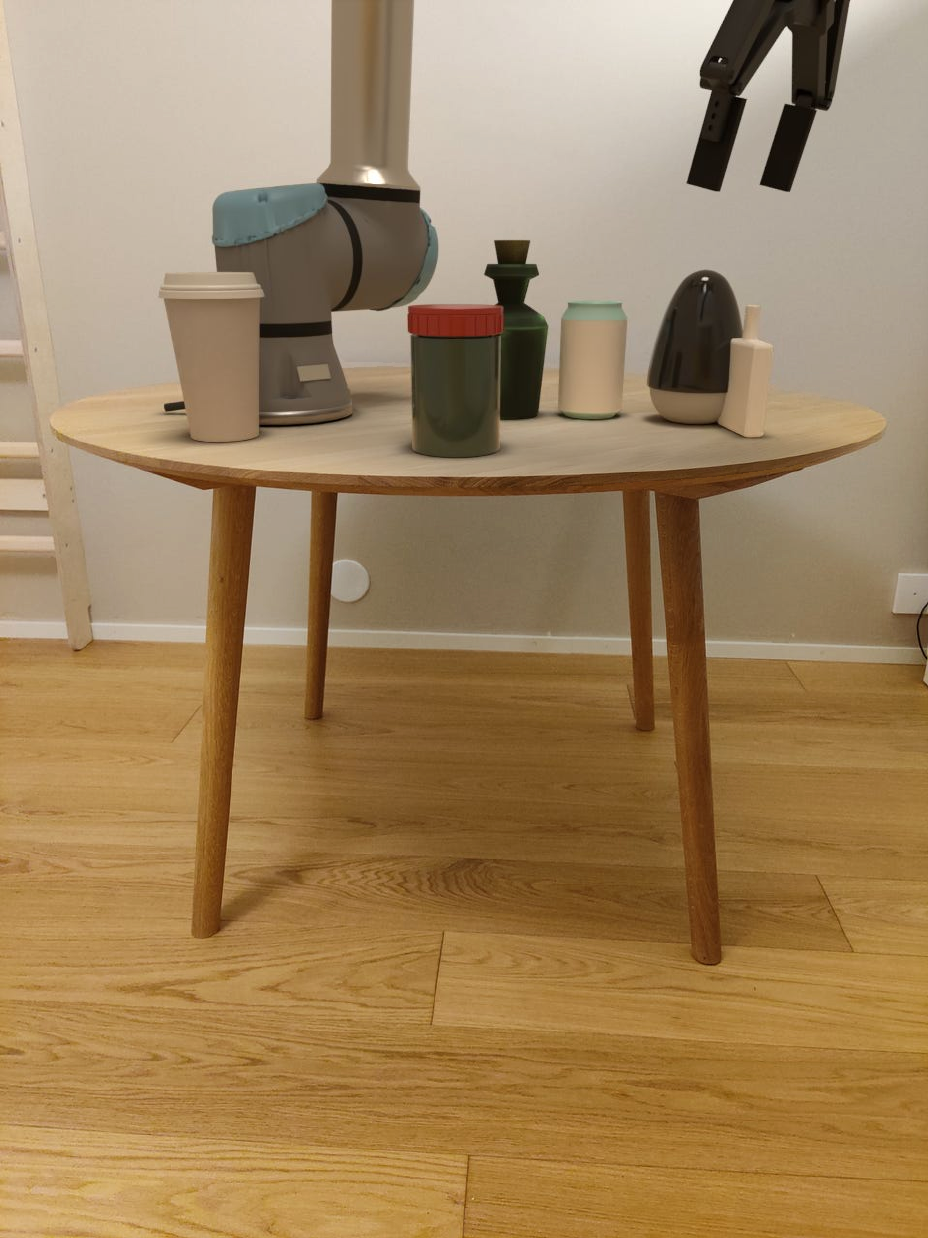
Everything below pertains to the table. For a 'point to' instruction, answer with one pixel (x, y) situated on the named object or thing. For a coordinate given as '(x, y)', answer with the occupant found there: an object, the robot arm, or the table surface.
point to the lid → (455, 319)
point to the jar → (455, 395)
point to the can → (592, 359)
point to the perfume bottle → (748, 379)
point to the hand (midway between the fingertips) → (740, 188)
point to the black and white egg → (695, 350)
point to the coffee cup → (216, 350)
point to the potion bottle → (518, 331)
